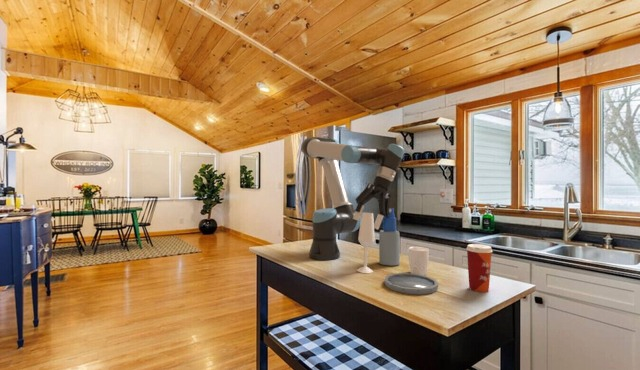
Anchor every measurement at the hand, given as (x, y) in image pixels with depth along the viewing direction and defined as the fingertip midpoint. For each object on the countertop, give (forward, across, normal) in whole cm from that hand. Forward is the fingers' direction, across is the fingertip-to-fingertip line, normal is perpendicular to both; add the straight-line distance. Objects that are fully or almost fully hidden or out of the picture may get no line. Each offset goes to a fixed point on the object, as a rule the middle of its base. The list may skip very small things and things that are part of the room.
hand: (365, 224), depth 136 cm
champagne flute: (+18, +4, -6) cm, 19 cm away
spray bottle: (+12, +19, -4) cm, 23 cm away
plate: (+14, +3, -29) cm, 32 cm away
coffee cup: (+6, +16, -45) cm, 48 cm away
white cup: (+10, +17, -21) cm, 29 cm away
